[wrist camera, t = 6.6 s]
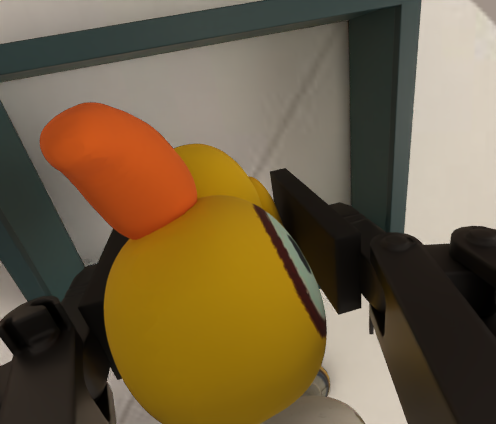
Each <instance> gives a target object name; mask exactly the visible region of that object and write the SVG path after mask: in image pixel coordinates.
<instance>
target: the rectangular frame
mask: <svg viewBox="0 0 496 424" xmlns="http://www.w3.org/2000/svg"><path fill="white" fill-rule="evenodd" d="M420 12H421V0H263V1H257V2H251V3H245V4H239V5H233V6H227V7H221V8H215V9H209V10H203V11H196V12H190V13H184V14H178V15H172V16H166V17H160V18H154V19H148V20H142V21H136V22H130V23H124V24H118V25H112V26H106V27H100V28H94V29H88V30H82V31H76V32H70V33H64V34H58V35H52V36H46V37H40V38H34V39H28V40H22V41H16V42H10V43H4V44H0V82H5V81H11V80H16V79H22V78H28V77H33V76H39V75H44V74H50V73H56V72H61V71H67V70H72V69H78V68H84V67H89V66H95V65H100V64H106V63H112V62H117V61H123V60H128V59H134V58H140V57H145V56H151V55H156V54H162V53H168V52H173V51H179V50H184V49H190V48H196V47H201V46H207V45H213V44H218V43H224V42H229V41H235V40H241V39H246V38H252V37H257V36H263V35H269V34H274V33H280V32H285V31H291V30H297V29H302V28H308V27H313V26H319V25H325V24H330V23H336V22H341V21H347V20H349V63H350V131H351V200H352V207H353V208H354V209H356V210H357V211H358V212H359V213H361V214H362V215H364V216H365V217H366V218H368V219H369V220H370V221H372V222H373V223H375V224H376V225H377V226H379V227H380V228H381V229H383V230H384V231H385V232H398V233H404V225H405V212H406V198H407V185H408V172H409V158H410V145H411V132H412V118H413V105H414V92H415V79H416V65H417V52H418V39H419V25H420ZM0 260H1V261H2V263H3V264H4V266H5V268H6V269H7V271H8V272H9V274H10V275H11V277H12V278H13V280H14V281H15V283H16V284H17V286H18V287H19V289H20V291H21V292H22V294H23V295H24V297H25V298H26V300H27V301H30V300H33V299H36V298H39V297H42V296H55V297H58V299H59V300H60V302H61V301H62V300H63V298H65V294H66V292H67V290H68V289H69V287H70V285H71V283H72V281H73V279H74V277H75V276H76V275H77V274H79V273H80V272H81V271H82V270H83V269H84V268H85V267H84V265H83V263H82V261H81V259H80V257H79V255H78V253H77V251H76V249H75V247H74V245H73V243H72V241H71V239H70V237H69V235H68V233H67V231H66V229H65V227H64V225H63V223H62V221H61V219H60V218H59V216H58V214H57V212H56V210H55V208H54V206H53V204H52V202H51V200H50V198H49V196H48V194H47V192H46V190H45V188H44V186H43V184H42V182H41V180H40V178H39V176H38V174H37V172H36V170H35V168H34V166H33V164H32V162H31V160H30V158H29V156H28V154H27V152H26V150H25V148H24V146H23V144H22V142H21V140H20V139H19V137H18V135H17V133H16V131H15V129H14V127H13V125H12V123H11V121H10V119H9V117H8V115H7V113H6V111H5V109H4V107H3V105H2V103H1V101H0ZM317 284H318V283H317ZM318 287H319V289H320V286H319V285H318Z"/></svg>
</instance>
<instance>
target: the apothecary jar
mask: <svg viewBox="0 0 496 424" xmlns="http://www.w3.org/2000/svg"><path fill="white" fill-rule="evenodd" d="M329 390H330V380H329V376H328V374H327V372H326V371H325V369H324V368H323V367H321V366H320V369H319V371H318V373H317V375H316V377H315V379H314V381H313V382H312V384H311V385H310V386H309V388H308V389H307V390H306V391H305V392H304V393H303V395H302V396H301V397H299V398H298V399H297V400H296V401H295V402H294V403H292V404H291V405H290V406H289V407H287V408H286V409H284V410H283V411H281V412H279V413H278V414H276V415H274V416H273V417H271V418H269V419H268V420H266V421H264V422H262V423H260V424H365V423H364V421H363V420H362V418H361V417H360V416H359V414H358V413H357V412H356V411H355V410H354V409H353V408H351V407H350V406H348V405H347V404H345V403H343V402H341V401H339V400H336V399H333V398H330V397H327V396H328V393H329Z"/></svg>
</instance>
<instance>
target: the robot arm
mask: <svg viewBox="0 0 496 424" xmlns="http://www.w3.org/2000/svg"><path fill="white" fill-rule="evenodd" d="M270 177H271V184H272V191H273V198H274V203H275V205H276V208H277V210H278V213H279V216H280V218H281V221H282V223H283V226H284V228H285V229H286V231H287V232H288V233H289V234H290V236H291V237H292V238H293V240H294V241H295V243H296V244H297V245H298V247H299V249H300V250H301V252H302V254H303V255H304V257H305V259H306V261H307V263H308V264H309V266H310V268H311V270H312V273H313V275H314V277H315V279H316V282H317V283H318V285H319V286H320V288H321V289H322V291H323V292H324V294H325V295H326V297H327V298H328V300H329V301H330V303H331V304H332V306H333V307H334V309H335V310H336V312H337V313H338V315H339V314H342V313H346V312H349V311H352V310H356V309H359V308H361V293H362V295H363V296H364V297H365V298H366V299H367V300H368V302H369V333H370V334H373V330H374V329H375V332H376V335H377V338H378V340H379V343H380V346H381V349H382V352H383V355H384V357H385V360H386V363H387V366H388V369H389V372H390V375H391V377H392V380H393V383H394V386H395V389H396V392H397V394H398V397H399V400H400V403H401V406H402V409H403V411H404V414H405V417H406V420H407V423H408V424H496V230H495V229H491V228H486V227H483V226H478V227H477V226H469V227H461V228H459V229H456V230H454V232H453V233H452V234H451V241H450V244H435V245H423V244H422V243H421V242H420V241H419V240H418V239H417V238H415V237H413V236H410V235H408V234H404V233H398V232H385V231H384V230H383V229H381V228H380V227H379V226H377V225H376V224H375V223H373V222H372V221H370V220H369V219H368V218H366V217H365V216H364V215H362V214H361V213H359V212H358V211H357V210H356V209H354V208H353V207H352V206H349V205H346V204H343V203H340V202H339V203H335V204H331V205H328V204H327V203H326V202H324V201H323V200H322V199H321V198H320V197H319V196H317V195H316V194H315V193H314V192H313V191H312V190H310V189H309V188H308V187H307V186H306V185H305V184H303V183H302V182H301V181H300V180H299V179H297V178H296V177H295V176H294V175H293V174H292V173H290V172H289V171H288V170H287V169H286V168H284V169H279V170H275V171H271V172H270ZM128 240H129V238H127V237H125V236H123V235H122V234H120V233H119V232H117V231H116V230H115V229H114V228H113V231H112V233H111V235H110V237H109V239H108V242H107V244H106V246H105V248H104V250H103V253H102V255H101V257H100V259H99V261H98V264H95V265H91V266H87V267H85V268H84V269H83V270H82V271H81V272H80V273H79V274H77V275H76V276H75V277H74V279H73V281H72V283H71V285H70V287H69V289H68V290H67V292H66V294H65V298H63V300H62V301H61V302H60V300H59V299H58V297H55V296H42V297H39V298H36V299H33V300H30V301H28V302H26V303H24V304H22V305H20V306H18V307H17V308H15V309H14V310H12V311H11V312H10V313H8V314H7V315H6V316H5V317H4V318H3V319H2V320H1V321H0V338H1V339H2V340H3V342H4V343H5V344H6V346H7V347H8V348H9V350H10V351H11V352H12V354H13V359H12V361H10V362H8V363H6V364H4V365H2V366H0V424H117V423H116V416H115V408H114V400H113V393H112V391H111V389H110V386H109V385H108V383H107V378H108V374H109V370H110V367H111V369H112V371H113V373H114V374H115V376H116V378H117V380H119V379H122V377H121V375H120V373H119V371H118V369H117V367H116V364H115V362H114V359H113V356H112V353H111V350H110V347H109V343H108V339H107V335H106V329H105V321H104V297H105V289H106V284H107V280H108V276H109V273H110V270H111V268H112V265H113V263H114V261H115V259H116V257H117V255H118V253H119V252H120V250H121V249H122V247H123V246H124V245H125V244H126V242H127V241H128Z"/></svg>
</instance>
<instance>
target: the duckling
mask: <svg viewBox="0 0 496 424" xmlns="http://www.w3.org/2000/svg"><path fill="white" fill-rule="evenodd" d="M40 148H41V151H42V153H43V155H44V157H45V159H46V160H47V161H48V162H49V163H50V164H51V165H52V166H53V167H54V168H55V169H57V170H59V171H60V172H62V173H63V174H64V175H65V176H66V177H67V178H68V179H69V180H70V182H71V183H72V184H73V185H74V186H75V187H76V188H77V189H78V190H79V192H80V193H81V194H82V195H83V197H84V198H85V199H86V200H87V201H88V202H89V204H90V205H91V206H92V207H93V208H94V209H95V210H96V211H97V212H98V213H99V214H100V215H101V216H102V217H103V219H104V220H105V221H106V222H107V223H108V224H109V225H110V226H111V227H113V228H114V229H115V230H116V231H117V232H119V233H120V234H122V235H123V236H125V237H127V238H129V240H128V241H127V242H126V244H125V245H124V246H123V247H122V249H121V250H120V252H119V253H118V255H117V257H116V259H115V261H114V263H113V265H112V268H111V270H110V273H109V276H108V280H107V284H106V289H105V297H104V321H105V329H106V335H107V339H108V343H109V347H110V350H111V353H112V356H113V359H114V362H115V364H116V367H117V369H118V371H119V373H120V375H121V377H122V379H123V381H124V383H125V384H126V386H127V388H128V389H129V391H130V392H131V394H132V395H133V396H134V398H135V399H136V400H137V401H138V403H139V404H140V405H141V406H142V407H143V408H144V409H145V410H146V411H147V412H148V413H149V414H150V415H151V416H153V417H154V418H155V419H156V420H158V421H159V422H160V423H162V424H260V423H262V422H264V421H266V420H268V419H269V418H271V417H273V416H274V415H276V414H278V413H279V412H281V411H283V410H284V409H286V408H287V407H289V406H290V405H291V404H292V403H294V402H295V401H296V400H297V399H298V398H299V397H301V396H302V395H303V393H304V392H305V391H306V390H307V389H308V388H309V386H310V385H311V384H312V382H313V381H314V379H315V377H316V375H317V373H318V371H319V369H320V366H321V364H322V361H323V357H324V353H325V347H326V335H327V328H326V316H325V310H324V305H323V300H322V297H321V293H320V290H319V287H318V284H317V282H316V279H315V277H314V275H313V273H312V270H311V268H310V266H309V264H308V263H307V261H306V259H305V257H304V255H303V254H302V252H301V250H300V249H299V247H298V245H297V244H296V243H295V241H294V240H293V238H292V237H291V236H290V234H289V233H288V232H287V231H286V229H285V228H284V226H283V223H282V221H281V218H280V216H279V213H278V210H277V208H276V205H275V203H274V201H273V199H272V198H271V196H270V194H269V193H268V191H267V190H266V188H265V187H264V186H263V185H262V184H261V183H260V182H259V181H258V180H257V179H255V178H253V177H248V176H247V174H246V173H245V172H244V170H243V169H242V168H241V167H240V166H239V165H238V163H237V162H236V161H234V160H233V159H232V158H231V157H230V156H228V155H227V154H226V153H224V152H223V151H221V150H219V149H217V148H215V147H212V146H209V145H204V144H188V145H183V146H179V147H176V148H174V149H173V148H172V146H171V145H170V144H169V143H168V142H167V141H166V140H165V139H164V137H163V136H162V135H161V134H160V133H159V132H157V131H156V130H155V129H154V128H153V127H151V126H150V125H149V124H147V123H145V122H144V121H142V120H140V119H138V118H136V117H134V116H133V115H131V114H129V113H126V112H124V111H122V110H119V109H116V108H113V107H110V106H107V105H104V104H101V103H91V102H90V103H82V104H78V105H76V106H74V107H72V108H69V109H67V110H65V111H63V112H62V113H60V114H59V115H57V116H55V117H54V118H53V119H52V120H51V121H50V122H49V123H48V124H47V125H46V126H45V127H44V129H43V131H42V132H41V135H40Z"/></svg>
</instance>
